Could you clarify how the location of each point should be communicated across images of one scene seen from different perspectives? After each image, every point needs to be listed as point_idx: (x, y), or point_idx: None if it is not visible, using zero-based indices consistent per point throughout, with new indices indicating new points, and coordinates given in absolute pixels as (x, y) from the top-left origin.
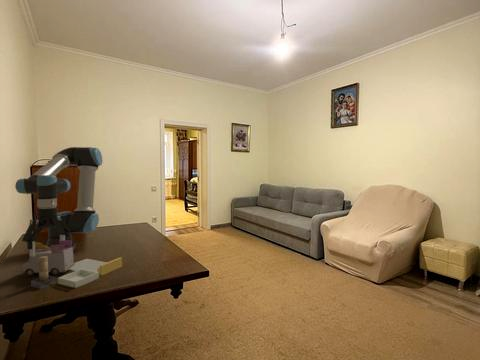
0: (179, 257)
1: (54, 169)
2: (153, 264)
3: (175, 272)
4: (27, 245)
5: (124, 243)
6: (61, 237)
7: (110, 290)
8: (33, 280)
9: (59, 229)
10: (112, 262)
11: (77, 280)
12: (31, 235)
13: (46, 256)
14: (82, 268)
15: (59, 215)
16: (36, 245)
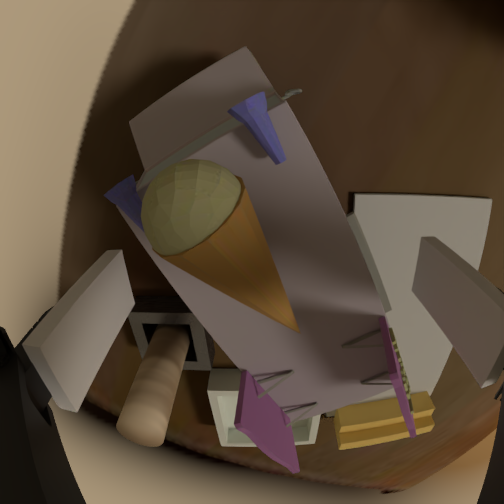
0: (485, 430)
1: None
2: (442, 433)
3: (392, 479)
4: (29, 332)
5: None
6: (481, 332)
7: (264, 470)
8: (135, 318)
9: (485, 482)
10: (387, 439)
11: (231, 443)
12: (1, 441)
13: (159, 436)
14: None
15: None
16: (155, 251)
